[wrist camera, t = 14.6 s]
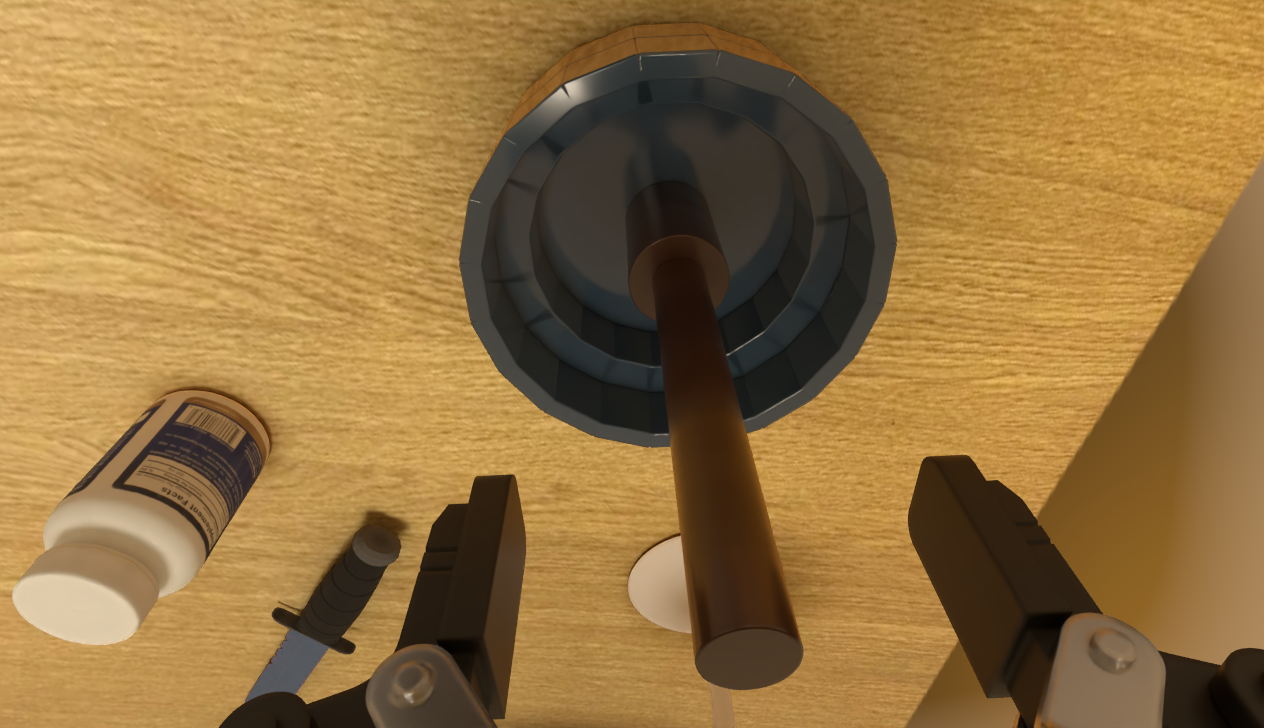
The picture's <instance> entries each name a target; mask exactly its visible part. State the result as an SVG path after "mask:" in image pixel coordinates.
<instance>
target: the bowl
mask: <svg viewBox="0 0 1264 728" xmlns="http://www.w3.org/2000/svg"><path fill="white" fill-rule="evenodd" d="M664 181H676V182H681V183H684V184H687V185H689V186H691V187H692V188H694V189H695V190H697V191H698V192H699V193H700V194H701V195H702V197H703V198H704V199H705V201H706V203H707V205H708V208H709V211H710V214H711V217H712V220H713V223H714V226H715V229H716V232H717V235H718V238H719V241H720V244H721V247H722V250H723V253H724V256H725V259H726V262H727V265H728V268H729V286H728V290H727V293H726V295H725V297H724V299H723V301H722V302H721V304H720V305H719V306H718V307H717V308H716V309H715V314H716V318H717V322H718V325H719V329H720V333H721V337H722V341H723V344H724V348H725V352H726V356H727V360H728V363H729V367H730V371H731V375H732V379H733V383H734V386H735V390H736V394H737V398H738V402H739V405H740V409H741V413H742V417H743V421H744V424H745V428H746V432H747V433H750V432H753V431H757V430H760V429H762V428H765V427H767V426H768V425H770V424H772V423H774V422H775V421H777V420H779V419H780V418H782V417H784V416H786V415H787V414H789V413H791V412H793V411H794V410H796V409H798V408H799V407H801V406H803V405H805V404H806V403H808V402H810V401H811V400H812V399H813V398H815V397H816V396H817V395H818V394H819V393H820V392H821V391H822V390H823V389H824V388H825V387H826V386H827V385H828V384H829V383H830V382H831V381H832V380H833V379H834V378H835V377H836V376H837V375H838V374H839V373H840V372H841V371H842V370H843V369H844V368H845V367H846V366H847V365H848V364H849V363H850V362H851V361H852V360H853V359H854V358H855V356H856V355H857V354H858V352H859V350H860V348H861V347H862V345H863V343H864V341H865V339H866V338H867V336H868V334H869V332H870V330H871V329H872V327H873V325H874V323H875V321H876V320H877V318H878V316H879V314H880V312H881V310H882V309H883V307H884V303H885V302H886V297H887V292H888V287H889V282H890V277H891V271H892V266H893V261H894V256H895V251H896V245H897V244H896V242H897V236H896V230H895V224H894V217H893V211H892V205H891V198H890V192H889V186H888V180H887V179H886V175H885V173H884V171H883V170H882V168H881V166H880V165H879V163H878V161H877V159H876V158H875V156H874V154H873V152H872V151H871V149H870V147H869V146H868V144H867V142H866V140H865V139H864V137H863V135H862V134H861V132H860V130H859V128H858V127H857V125H856V123H855V122H854V120H853V119H852V118H851V117H850V116H849V115H848V114H847V113H846V112H845V111H843V110H842V109H841V108H840V107H839V106H837V105H836V104H835V103H834V102H833V101H832V100H830V99H829V98H828V97H827V96H826V95H824V94H823V93H822V92H821V91H820V90H819V89H817V88H816V87H815V86H814V85H813V84H812V83H810V82H809V81H808V80H807V79H806V78H804V77H803V76H802V75H801V74H799V73H798V72H797V71H795V70H794V69H793V68H792V67H790V66H789V65H788V64H787V63H785V62H784V61H783V60H782V59H780V58H779V57H778V56H776V55H775V54H774V53H773V52H771V51H770V50H769V49H768V48H766V47H765V46H764V45H763V44H760V43H759V42H758V41H755V40H752V39H748V38H745V37H742V36H739V35H736V34H733V33H730V32H726V31H723V30H720V29H717V28H714V27H711V26H708V25H704V24H701V23H676V24H653V25H633V26H629V27H627V28H625V29H622V30H620V31H617V32H615V33H612V34H610V35H608V36H605V37H603V38H600V39H598V40H595V41H593V42H590V43H588V44H586V45H583V46H581V47H578V48H576V49H573V50H572V51H571V52H569V53H568V54H567V55H566V56H564V57H563V58H562V59H561V60H560V61H559V62H558V63H557V64H555V65H554V66H553V67H552V68H551V69H550V70H549V71H548V72H546V73H545V74H544V75H543V76H542V77H541V78H540V79H539V80H538V81H536V82H535V83H534V84H533V85H532V86H531V87H530V88H529V89H527V90H526V91H525V93H524V94H523V95H522V96H521V98H520V100H519V102H518V104H517V105H516V107H515V109H514V111H513V113H512V114H511V116H510V118H509V120H508V122H507V124H506V125H505V127H504V129H503V131H502V133H501V134H500V136H499V138H498V140H497V142H496V143H495V145H494V147H493V149H492V151H491V153H490V155H489V157H488V159H487V161H486V163H485V165H484V168H483V169H482V171H481V173H480V175H479V177H478V179H477V181H476V184H475V186H474V188H473V190H472V192H471V194H470V197H469V199H468V205H467V211H466V218H465V224H464V231H463V237H462V243H461V250H460V256H459V262H460V263H459V266H460V271H461V276H462V281H463V286H464V291H465V296H466V301H467V306H468V312H469V317H470V320H471V324H472V326H473V328H474V330H475V331H476V333H477V335H478V336H479V338H480V340H481V342H482V343H483V345H484V347H485V348H486V350H487V352H488V354H489V355H490V357H491V359H492V361H493V362H494V364H495V366H496V367H497V369H498V371H499V372H500V373H501V374H502V375H503V376H504V377H505V378H506V379H507V380H508V381H509V382H511V383H512V384H513V385H514V386H515V387H516V388H517V389H518V390H519V391H520V392H522V393H523V394H524V395H525V396H526V397H527V398H528V399H529V400H530V401H532V402H533V403H534V404H535V405H536V406H537V407H538V408H539V409H540V410H542V411H544V412H545V413H547V414H549V415H551V416H553V417H555V418H557V419H559V420H561V421H563V422H565V423H567V424H569V425H571V426H573V427H575V428H577V429H579V430H581V431H583V432H585V433H587V434H589V435H591V436H593V435H594V437H597V438H602V439H607V440H612V441H617V442H622V443H627V444H632V445H637V446H642V447H647V448H648V447H651V448H655V447H671V446H670V437H669V428H668V419H667V410H666V401H665V393H664V384H663V375H662V366H661V357H660V348H659V340H658V331H657V322H656V321H654V320H652V319H650V318H649V317H647V316H646V315H644V314H643V313H642V312H641V311H640V310H639V309H638V307H637V306H636V305H635V303H634V302H633V300H632V297H631V295H630V291H629V284H628V264H627V244H626V214H627V211H628V208H629V206H630V204H631V202H632V201H633V199H634V198H635V197H636V196H637V195H638V194H639V193H640V192H641V191H642V190H643V189H645V188H646V187H648V186H650V185H652V184H655V183H659V182H664Z"/></svg>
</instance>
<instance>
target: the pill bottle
mask: <svg viewBox="0 0 1264 728" xmlns="http://www.w3.org/2000/svg"><path fill="white" fill-rule="evenodd" d="M269 449H270V444H269V439H268V435H267V433H266V431H265V429H264V427H263V426H262V424H261V423H260V422H259V420H258V419H257V418H256V417H255V416H254V415H253V414H252V413H251V412H250V411H249V410H247V409H246V408H245V407H243V406H242V405H241V404H239V403H237V402H235V401H234V400H231V399H229V398H227V397H224V396H222V395H219V394H215V393H212V392H207V391H197V390H189V391H178V392H174V393H171V394H168V395H165V396H163V397H162V398H160V399H158V400H157V401H156V402H154V403H153V404H152V405H151V406H150V407H149V408H148V409H147V410H146V411H145V412H144V413H143V414H142V415H141V416H140V417H139V418H138V419H137V421H136V422H135V423H134V424H133V425H132V426H131V427H130V428H129V430H128V431H126V432H125V434H124V435H123V436H122V437H121V438H120V439H119V440H118V441H117V442H116V444H115V445H114V446H113V447H112V448H111V449H110V450H109V451H108V452H107V453H106V454H105V455H104V456H103V457H102V458H101V460H100V461H99V462H98V463H97V464H96V465H95V466H94V467H93V468H92V469H91V470H90V471H89V472H88V473H87V474H86V476H85V477H84V478H83V479H82V480H81V481H80V482H79V483H78V484H77V485H75V487H74V488H73V489H72V491H71V492H70V493H69V494H68V495H67V496H66V497H65V498H64V499H63V500H62V501H61V502H60V503H59V504H58V506H57V507H56V508H55V510H54V511H53V512H52V513H51V515H50V516H49V518H48V520H47V522H46V524H45V528H44V533H43V540H44V546H45V549H46V552H44V553H43V554H41V555H40V556H39V557H38V558H37V559H36V560H35V561H34V563H33V564H32V566H31V567H30V568H29V569H28V570H27V571H26V573H25V574H24V575H23V576H22V577H21V579H20V580H19V581H18V582H17V583H16V585H15V587H14V588H13V592H12V601H13V603H14V606H15V607H16V609H17V611H18V612H19V613H20V615H21V616H22V617H23V618H24V619H26V620H27V621H28V622H29V623H31V624H32V625H34V626H36V627H37V628H38V629H40V630H42V631H44V632H46V633H48V634H50V635H52V636H54V637H57V638H60V639H63V640H66V641H70V642H74V643H80V644H88V645H108V644H114V643H118V642H121V641H124V640H126V639H128V638H129V637H131V636H132V635H133V634H134V633H135V632H136V631H137V629H138V628H139V627H140V625H141V624H142V622H143V621H144V619H145V618H146V616H147V615H148V613H149V612H150V610H151V609H152V607H153V606H154V604H155V603H156V601H157V599H158V598H159V597H163V596H167V595H170V594H172V593H174V592H176V591H178V590H180V589H182V588H183V587H185V586H186V585H187V584H188V583H189V582H190V581H191V580H192V579H193V578H194V577H195V576H196V574H197V573H198V572H199V570H200V569H201V568H202V566H203V564H204V563H205V561H206V560H207V558H208V556H209V555H210V553H211V551H212V550H213V548H214V546H215V544H216V543H217V541H218V540H219V538H220V536H221V535H222V533H223V531H224V530H225V528H226V527H227V525H228V524H229V522H230V521H231V519H232V517H233V516H234V515H235V513H236V511H237V510H238V508H239V506H240V505H241V503H242V501H243V500H244V498H245V497H246V495H247V493H248V492H249V490H250V488H251V487H252V485H253V484H254V482H255V480H256V479H257V477H258V476H259V474H260V472H261V470H262V468H263V466H264V465H265V463H266V461H267V459H268V456H269Z"/></svg>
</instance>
